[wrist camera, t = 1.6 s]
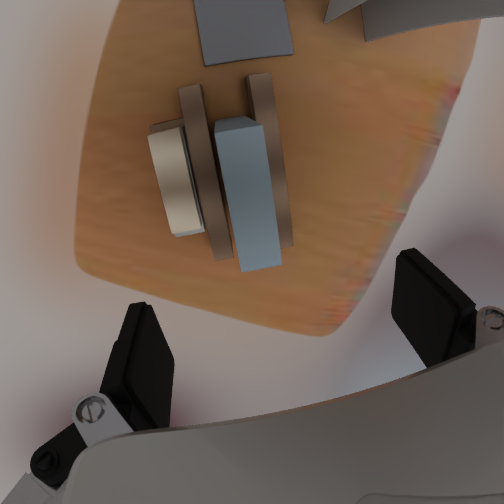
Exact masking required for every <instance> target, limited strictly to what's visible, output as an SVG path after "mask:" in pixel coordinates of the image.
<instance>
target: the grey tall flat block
mask: <svg viewBox="0 0 504 504" xmlns="http://www.w3.org/2000/svg"><path fill="white" fill-rule="evenodd" d="M360 4H361V10H362V17H363V25H364V34H365V41H367V42H369V41H372V40H376V39H379V38H383V37H387V36H391V35H395V34H399V33H403V32H407V31H411V30H416V29H420V28H425V27H430V26H435V25H441V24H446V23H452V22H459V21H466V20H473V19H481V18H490V17H502V16H504V0H330V2H329V5H328V9H327V12H326V16H325V19H324V24H327V23H328V22H330V21H332V20H333V19H335V18H337V17H339V16H340V15H342V14H344V13H346V12H347V11H349V10H351V9H353V8H354V7H356V6H358V5H360Z"/></svg>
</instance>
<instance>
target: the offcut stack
mask: <svg viewBox="0 0 504 504" xmlns="http://www.w3.org/2000/svg"><path fill="white" fill-rule="evenodd" d="M150 129H151V134H150V135H148V136H147V137H148V142H149V146H150V151H151V155H152V159H153V163H154V168H155V172H156V176H157V180H158V184H159V188H160V192H161V195H162V199H163V203H164V207H165V211H166V214H167V218H168V222H169V225H170V229H171V232H172V234H175V237H180V236H185V235H190V234H195V233H200V232H205V227H207V225H206V220H205V216H204V212H203V207H202V203H201V198H200V194H199V189H198V185H197V180H196V176H195V171H194V166H193V162H192V157H191V152H190V148H189V143H188V138H187V133H186V128H185V123H184V118H180V119H176V120H172V121H168V122H163V123H159V124H156V125H152V126H150Z"/></svg>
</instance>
